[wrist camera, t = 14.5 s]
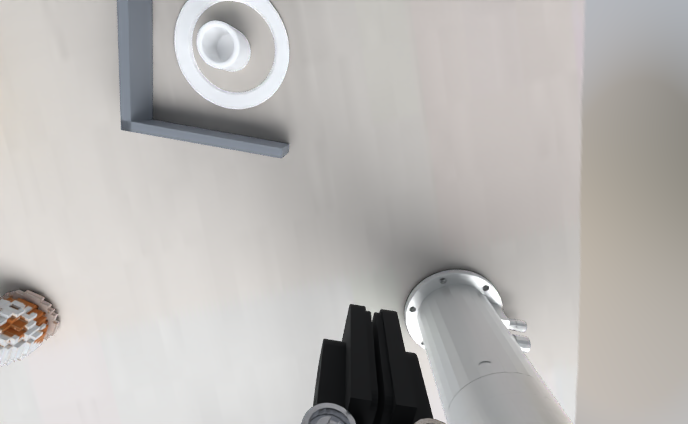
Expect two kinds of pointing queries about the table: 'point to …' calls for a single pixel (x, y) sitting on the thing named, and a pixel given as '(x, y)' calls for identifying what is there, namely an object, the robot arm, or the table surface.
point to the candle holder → (228, 52)
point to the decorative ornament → (24, 324)
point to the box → (139, 89)
